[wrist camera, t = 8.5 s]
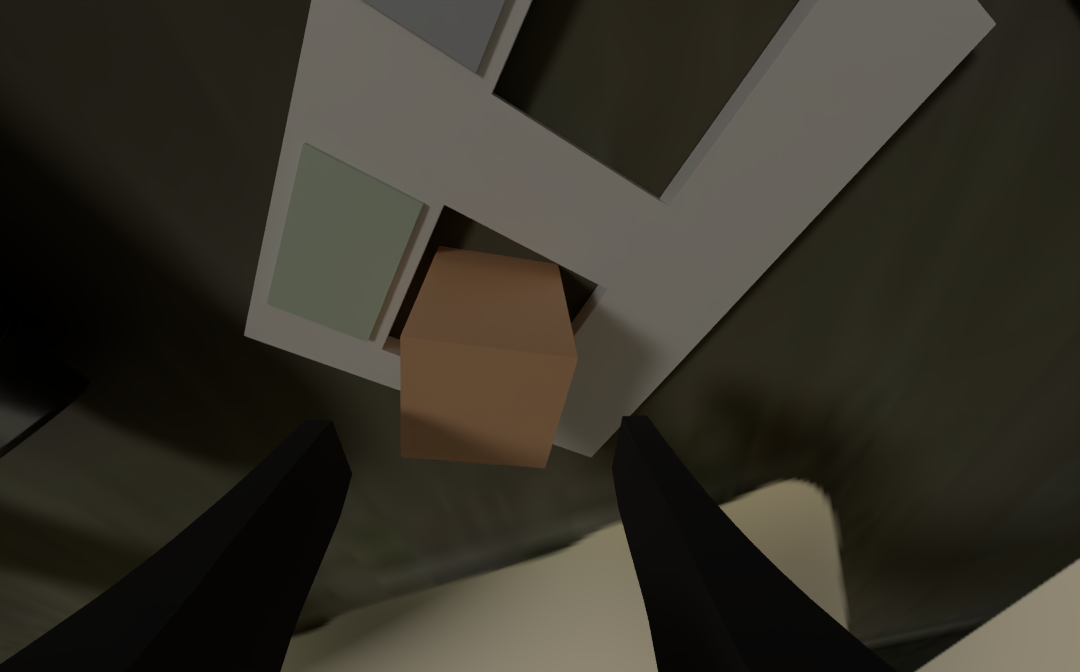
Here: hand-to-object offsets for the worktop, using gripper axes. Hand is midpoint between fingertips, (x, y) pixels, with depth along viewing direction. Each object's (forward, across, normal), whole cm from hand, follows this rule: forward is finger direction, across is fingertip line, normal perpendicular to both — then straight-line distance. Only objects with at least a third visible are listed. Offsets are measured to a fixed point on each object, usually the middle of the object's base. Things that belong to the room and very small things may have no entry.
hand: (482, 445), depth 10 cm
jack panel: (+7, -2, -4) cm, 9 cm away
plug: (+7, 0, 0) cm, 7 cm away
